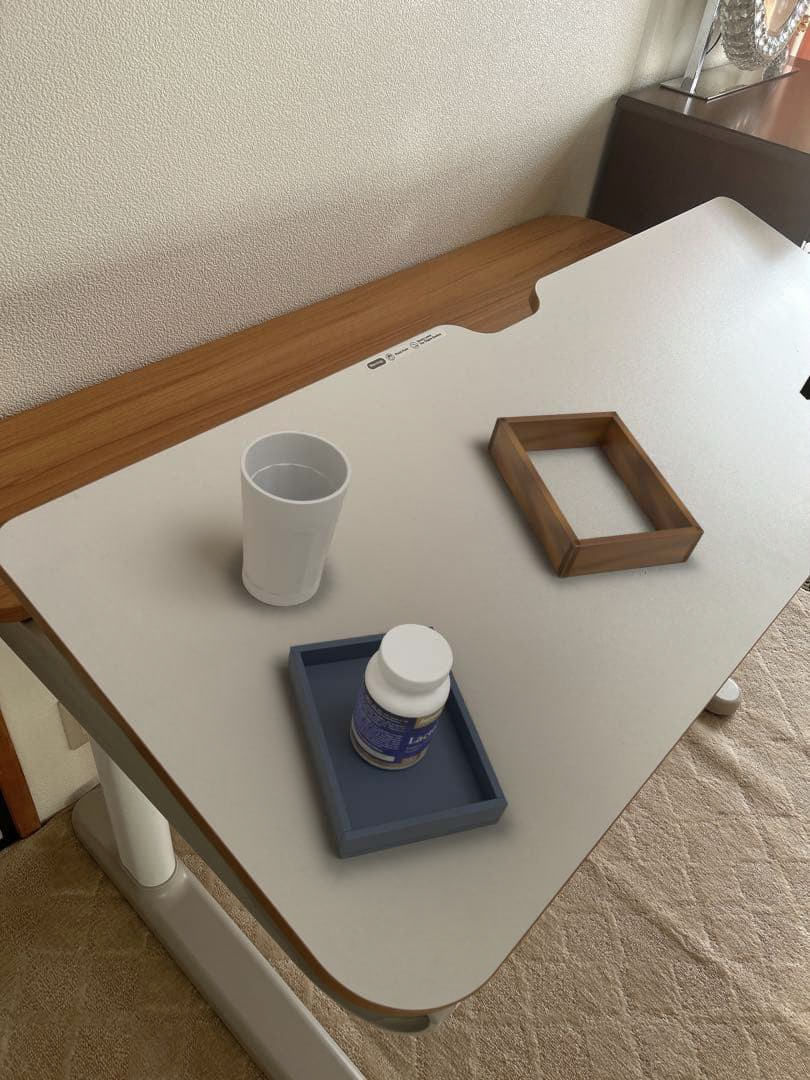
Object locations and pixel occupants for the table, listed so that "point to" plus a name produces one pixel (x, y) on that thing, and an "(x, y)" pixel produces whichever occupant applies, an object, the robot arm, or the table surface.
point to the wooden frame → (631, 464)
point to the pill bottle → (402, 697)
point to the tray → (381, 794)
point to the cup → (289, 513)
